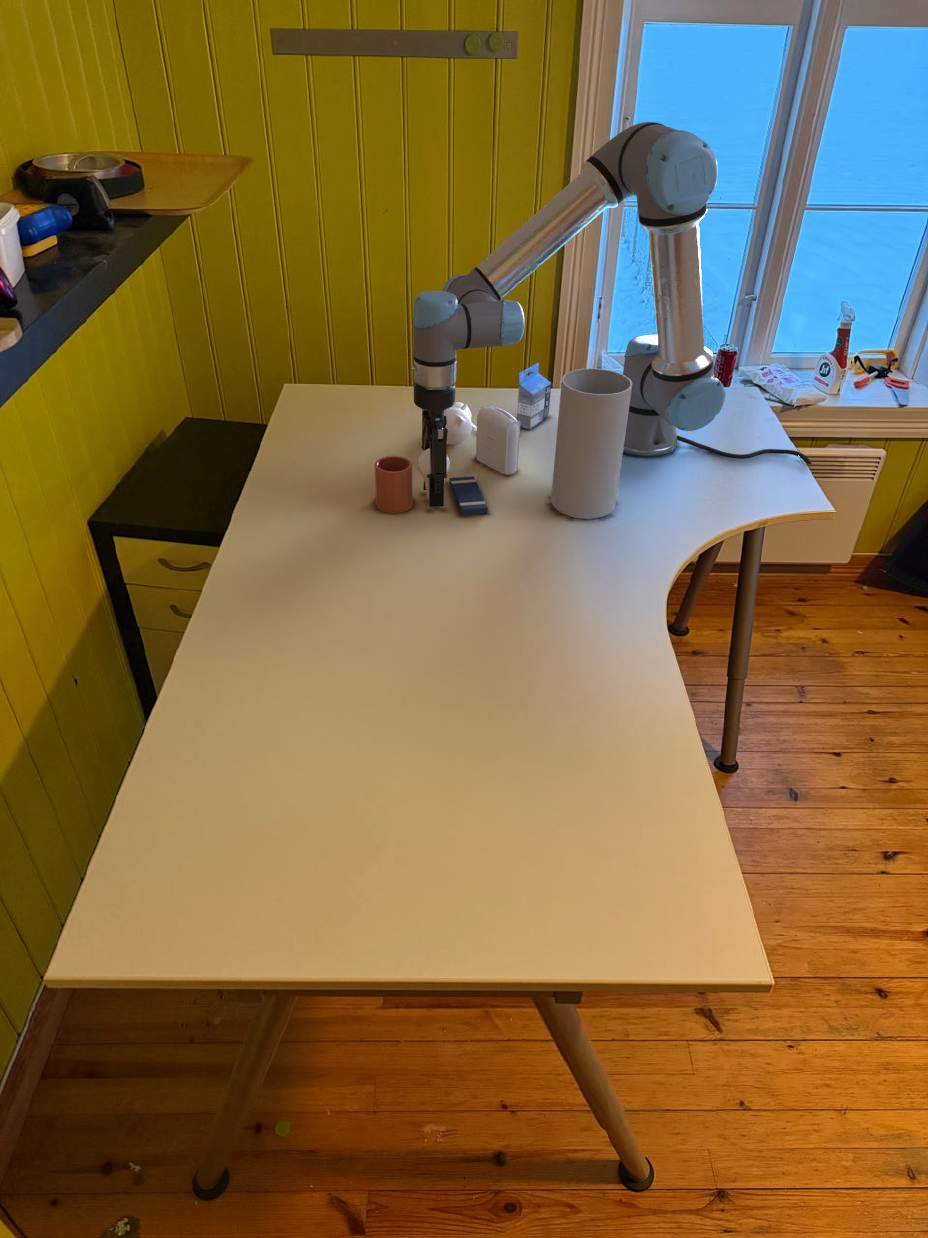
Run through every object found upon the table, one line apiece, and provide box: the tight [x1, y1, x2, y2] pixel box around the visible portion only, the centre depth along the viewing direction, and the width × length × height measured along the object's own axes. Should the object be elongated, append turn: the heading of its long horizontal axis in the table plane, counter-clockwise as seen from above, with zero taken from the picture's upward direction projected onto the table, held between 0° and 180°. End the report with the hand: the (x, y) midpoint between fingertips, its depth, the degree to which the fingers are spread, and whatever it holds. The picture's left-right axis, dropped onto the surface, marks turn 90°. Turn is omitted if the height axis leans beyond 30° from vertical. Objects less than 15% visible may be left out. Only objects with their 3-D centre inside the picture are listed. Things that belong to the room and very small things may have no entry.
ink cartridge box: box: [516, 362, 552, 430], centre depth 205 cm, size 9×4×12 cm, turn 147°
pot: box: [373, 455, 414, 514], centre depth 173 cm, size 7×7×8 cm
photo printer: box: [475, 405, 521, 476], centre depth 186 cm, size 10×4×12 cm, turn 39°
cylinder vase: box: [550, 367, 632, 520], centre depth 170 cm, size 12×12×25 cm
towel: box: [448, 475, 489, 517], centre depth 178 cm, size 5×13×1 cm, turn 11°
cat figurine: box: [444, 401, 477, 446], centre depth 198 cm, size 9×11×12 cm
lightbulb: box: [417, 448, 451, 501], centre depth 174 cm, size 6×6×11 cm
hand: (433, 497), depth 177 cm, fingers closed on lightbulb, 6 cm apart
